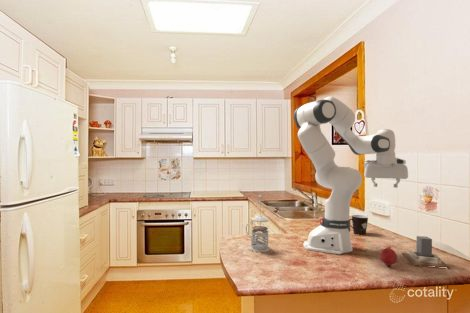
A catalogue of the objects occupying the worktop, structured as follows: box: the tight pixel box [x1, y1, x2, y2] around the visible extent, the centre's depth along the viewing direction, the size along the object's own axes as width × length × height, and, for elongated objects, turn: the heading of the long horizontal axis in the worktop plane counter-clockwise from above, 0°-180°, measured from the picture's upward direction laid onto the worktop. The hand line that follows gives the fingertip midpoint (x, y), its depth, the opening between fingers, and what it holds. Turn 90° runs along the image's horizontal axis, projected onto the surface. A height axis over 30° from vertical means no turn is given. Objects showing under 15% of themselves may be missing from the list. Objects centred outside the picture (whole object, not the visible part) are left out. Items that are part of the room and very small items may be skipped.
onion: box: [379, 245, 398, 267], centre depth 113 cm, size 6×6×8 cm
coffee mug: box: [349, 214, 369, 236], centre depth 163 cm, size 12×9×10 cm
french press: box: [245, 195, 271, 253], centre depth 134 cm, size 10×12×25 cm
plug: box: [416, 235, 433, 257], centre depth 119 cm, size 4×4×9 cm
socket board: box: [401, 249, 450, 269], centre depth 119 cm, size 13×13×3 cm
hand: (385, 187), depth 148 cm, fingers open, 8 cm apart
